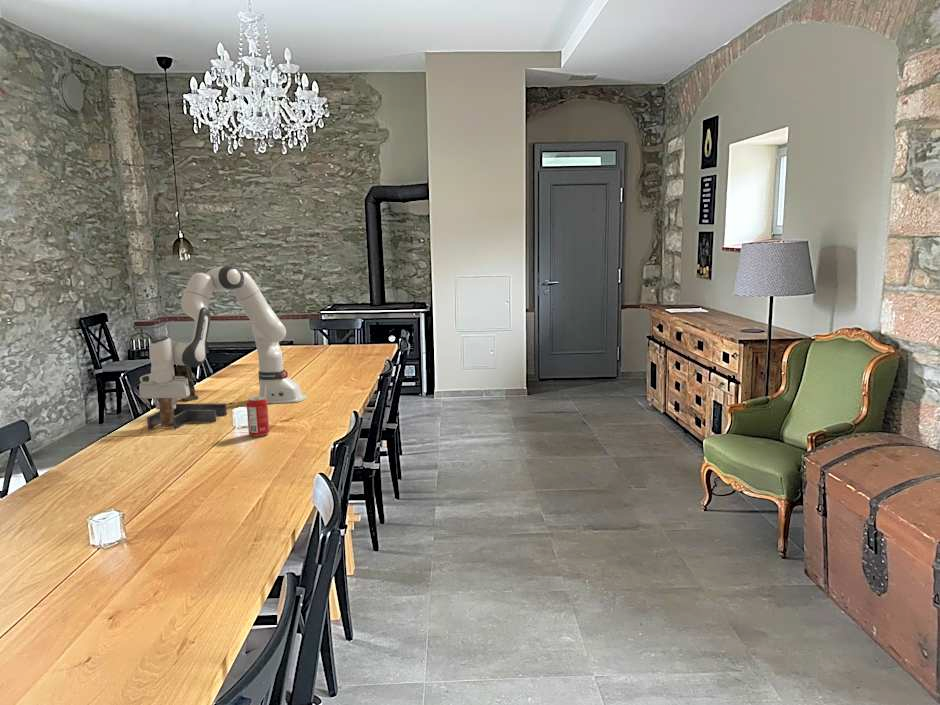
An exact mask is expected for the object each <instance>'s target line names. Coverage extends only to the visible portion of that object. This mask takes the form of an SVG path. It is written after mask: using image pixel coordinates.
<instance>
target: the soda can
mask: <svg viewBox="0 0 940 705" xmlns="http://www.w3.org/2000/svg"><path fill="white" fill-rule="evenodd" d="M268 408H269V406H268V404H267V400H266V399H265V397H262V396H259V395H258V396H257V395H256V396H251V397H248V399H247V401H246V414H247V426H248V434H249V436H252V437H253V436H254V437H255V438H257V437H259V438H261V437H265V436H267V435H268V434H269V433H270V424H269V423H270V422H269V409H268ZM264 435H265V436H264ZM260 436H261V437H260Z"/></svg>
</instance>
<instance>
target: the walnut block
mask: <svg viewBox="0 0 940 705" xmlns="http://www.w3.org/2000/svg"><path fill="white" fill-rule="evenodd" d="M158 402H159V408H160V409H159V411H160V420H161V426H172V425H173V417H174V409H171V405H172V404H173V402H174V401H173V400H172V399H169V398H159V400H158Z"/></svg>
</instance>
